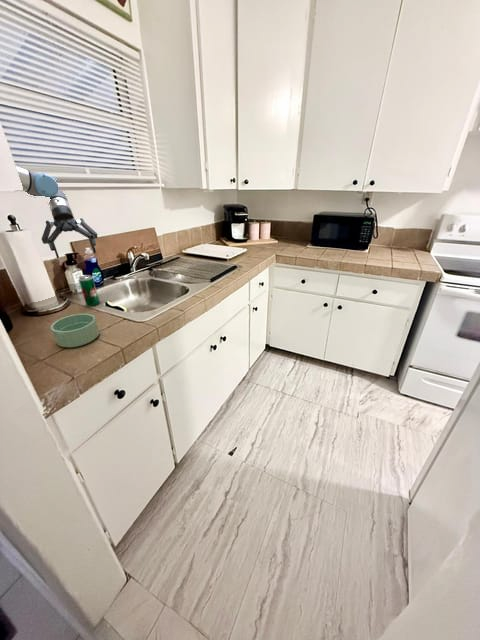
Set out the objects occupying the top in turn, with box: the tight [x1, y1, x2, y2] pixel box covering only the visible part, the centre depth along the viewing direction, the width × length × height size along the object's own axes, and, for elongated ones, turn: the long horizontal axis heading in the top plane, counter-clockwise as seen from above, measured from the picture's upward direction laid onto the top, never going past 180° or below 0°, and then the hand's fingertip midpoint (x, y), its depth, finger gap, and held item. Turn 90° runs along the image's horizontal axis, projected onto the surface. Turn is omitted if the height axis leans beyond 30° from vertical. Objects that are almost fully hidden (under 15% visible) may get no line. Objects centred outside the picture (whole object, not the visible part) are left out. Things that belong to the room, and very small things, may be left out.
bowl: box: [50, 313, 100, 348], centre depth 84 cm, size 12×12×6 cm
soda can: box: [78, 274, 100, 307], centre depth 106 cm, size 5×5×12 cm
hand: (76, 254), depth 108 cm, fingers open, 13 cm apart
